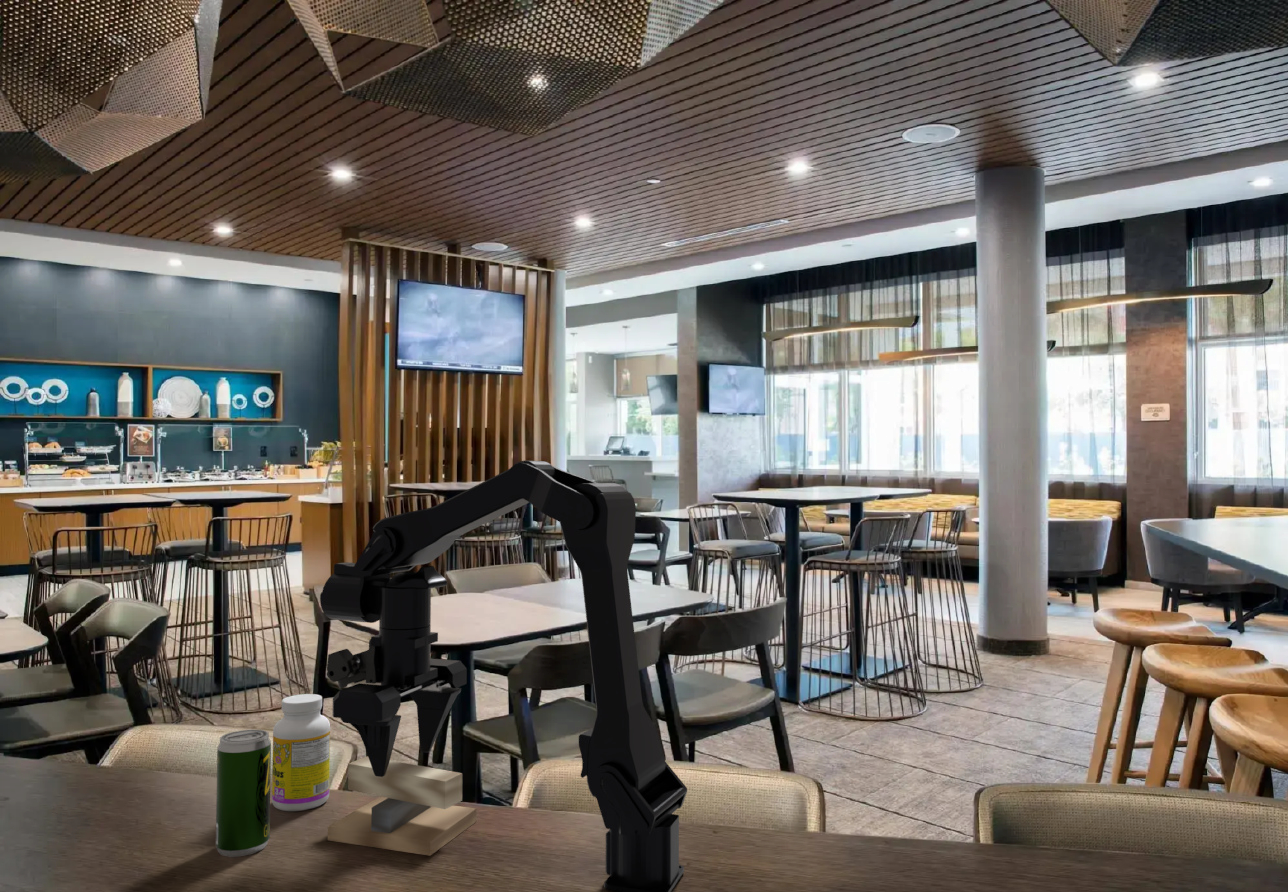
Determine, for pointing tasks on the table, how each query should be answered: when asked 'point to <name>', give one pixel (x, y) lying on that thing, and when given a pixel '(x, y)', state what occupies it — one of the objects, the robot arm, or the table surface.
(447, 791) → the rod
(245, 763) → the beer can
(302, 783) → the supplement bottle
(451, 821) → the balance board
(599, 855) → the table surface
